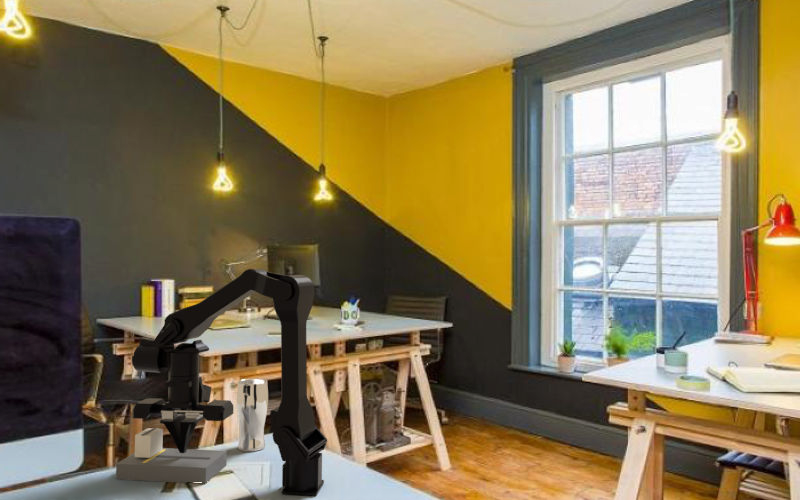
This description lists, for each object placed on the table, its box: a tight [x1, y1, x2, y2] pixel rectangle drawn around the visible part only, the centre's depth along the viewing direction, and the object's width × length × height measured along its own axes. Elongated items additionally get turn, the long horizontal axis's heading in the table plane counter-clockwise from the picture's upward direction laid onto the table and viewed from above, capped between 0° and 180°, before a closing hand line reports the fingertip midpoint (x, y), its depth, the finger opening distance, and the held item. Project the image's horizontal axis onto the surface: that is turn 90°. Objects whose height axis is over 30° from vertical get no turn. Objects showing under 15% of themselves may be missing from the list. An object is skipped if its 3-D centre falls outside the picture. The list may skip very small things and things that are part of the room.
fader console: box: [115, 447, 228, 484], centre depth 116 cm, size 18×10×3 cm, turn 84°
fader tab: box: [134, 427, 164, 458], centre depth 117 cm, size 3×5×4 cm, turn 174°
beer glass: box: [236, 378, 269, 453], centre depth 132 cm, size 7×7×15 cm
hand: (183, 452), depth 116 cm, fingers closed
